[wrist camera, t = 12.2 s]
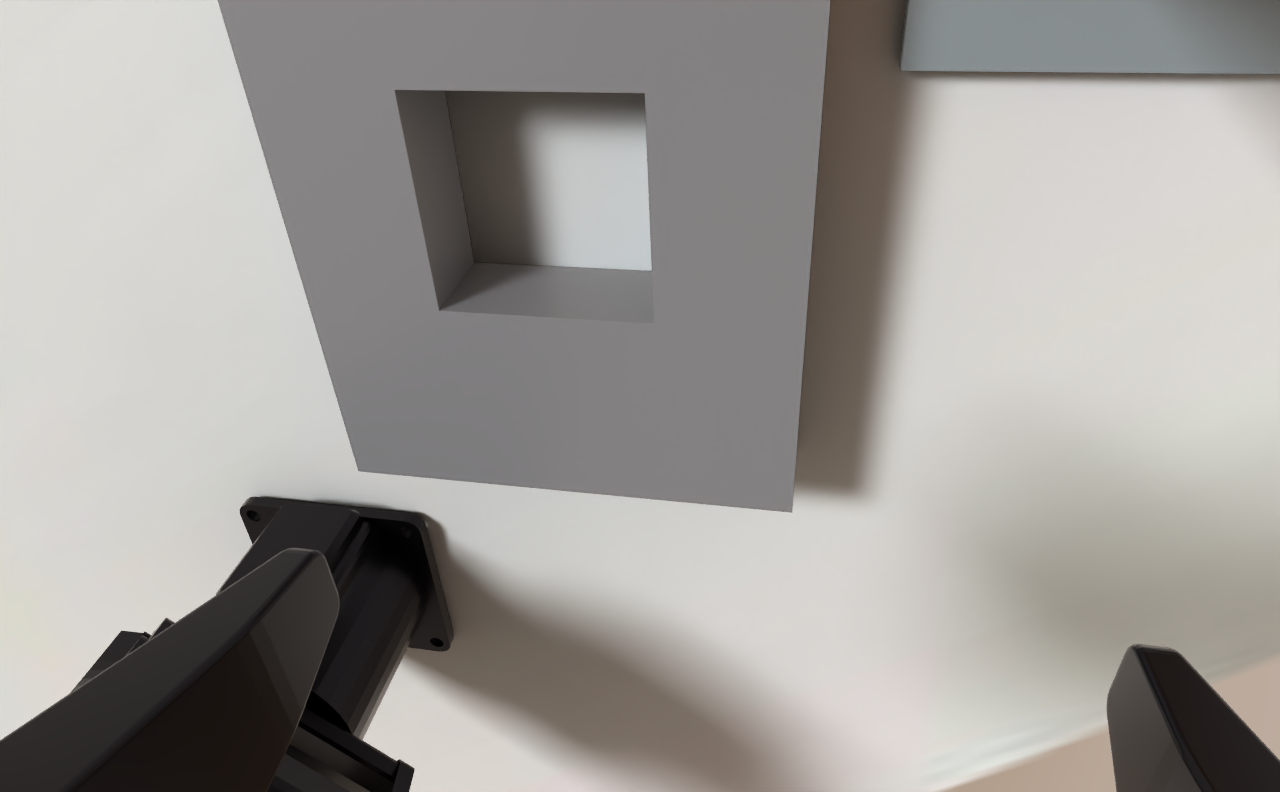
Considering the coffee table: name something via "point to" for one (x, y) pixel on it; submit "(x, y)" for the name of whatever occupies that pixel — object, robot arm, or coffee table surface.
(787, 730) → the coffee table surface
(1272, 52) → the mat
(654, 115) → the holder
